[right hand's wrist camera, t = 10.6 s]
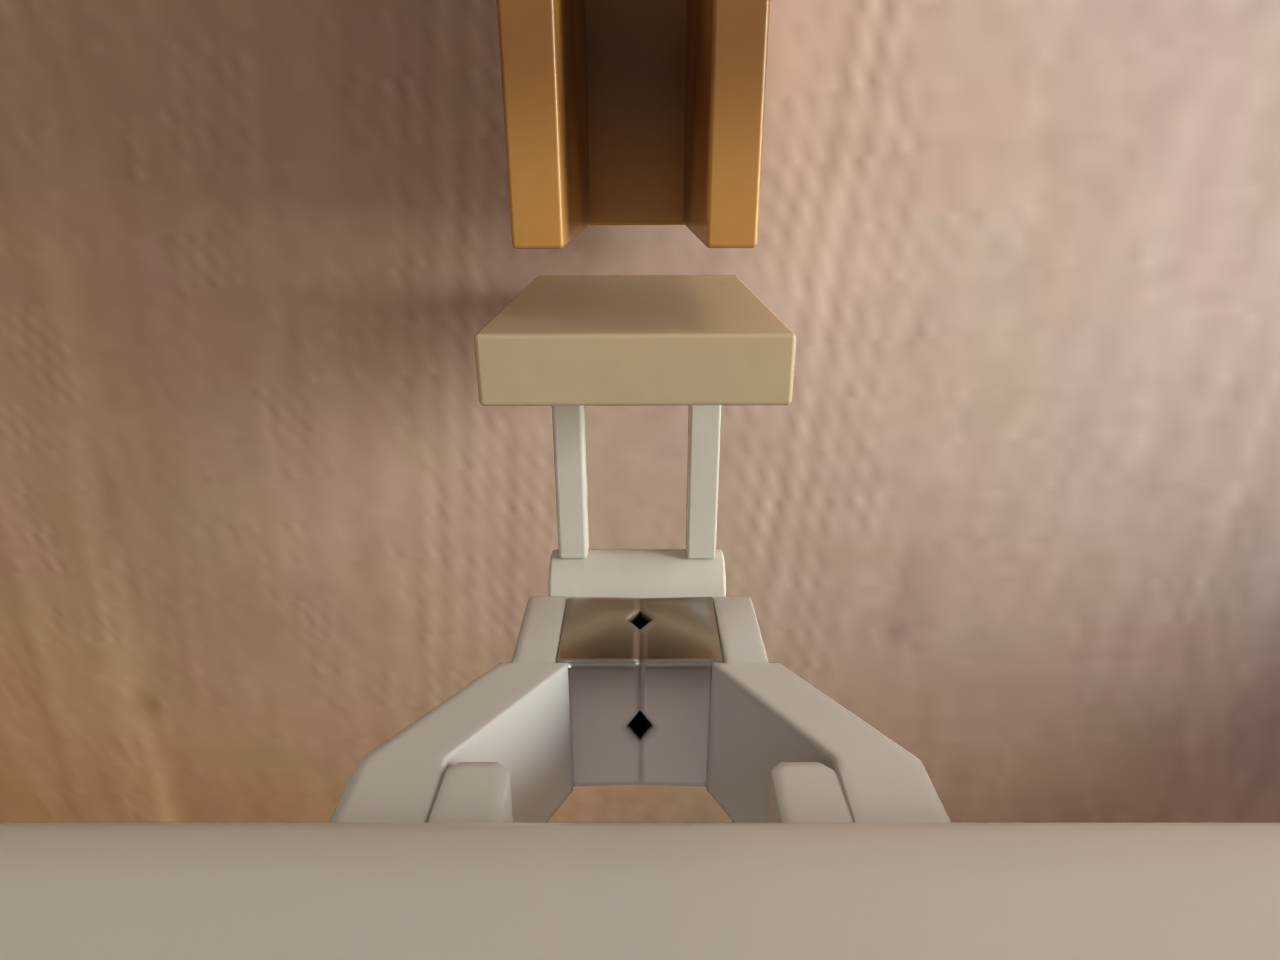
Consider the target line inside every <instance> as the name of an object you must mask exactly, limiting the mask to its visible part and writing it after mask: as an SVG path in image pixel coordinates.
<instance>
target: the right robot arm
mask: <svg viewBox="0 0 1280 960" xmlns="http://www.w3.org/2000/svg"><path fill="white" fill-rule="evenodd" d="M638 784H640V785H676V786H707V790H708V791H709V792H710V794H711V795H712V796H713V797H714V799H715V800H716V801H717V802H718V804H719V805H720V806H721V807H722V809H723V810H724V811H725V812H726V814H727V815H728V816H729V817H730V818H731V820H732V821H733V822H734V823H547V822H548V820H549V819H550V818H551V817H552V815H553V814H554V813H555V812H556V810H557V809H558V808H559V807H560V805H561V804H562V803H563V802H564V801H565V799H566V798H567V797H568V796H569V794H570V793H571V792H572V791H573V786H602V785H638ZM0 960H1280V823H951V821H950V819H949V817H948V815H947V813H946V811H945V809H944V807H943V805H942V803H941V801H940V799H939V797H938V794H937V792H936V790H935V788H934V786H933V784H932V782H931V780H930V778H929V776H928V774H927V772H926V770H925V768H924V766H923V764H922V762H921V760H920V759H919V758H917V757H916V756H914V755H913V754H911V753H910V752H908V751H907V750H905V749H904V748H903V747H901V746H900V745H898V744H897V743H895V742H894V741H892V740H891V739H889V738H888V737H887V736H885V735H884V734H882V733H881V732H879V731H878V730H876V729H875V728H873V727H872V726H870V725H869V724H868V723H866V722H865V721H863V720H862V719H860V718H859V717H857V716H856V715H854V714H853V713H852V712H850V711H849V710H847V709H846V708H844V707H843V706H841V705H840V704H838V703H837V702H836V701H834V700H833V699H831V698H830V697H828V696H827V695H825V694H824V693H822V692H821V691H820V690H818V689H817V688H815V687H814V686H812V685H811V684H809V683H808V682H806V681H805V680H804V679H802V678H801V677H799V676H798V675H796V674H795V673H793V672H792V671H790V670H789V669H788V668H786V667H785V666H783V665H782V664H780V663H769V662H768V658H767V654H766V651H765V647H764V643H763V640H762V636H761V633H760V629H759V625H758V622H757V618H756V614H755V611H754V607H753V604H752V600H751V598H750V597H749V596H726V597H677V598H622V597H568V598H567V597H566V596H533V597H531V598H530V599H529V600H528V603H527V606H526V610H525V614H524V617H523V621H522V625H521V628H520V632H519V636H518V640H517V643H516V647H515V651H514V654H513V658H512V662H511V663H500V664H498V665H497V666H495V667H494V668H493V669H491V670H490V671H488V672H487V673H485V674H484V675H482V676H481V677H479V678H478V679H476V680H475V681H473V682H472V683H471V684H469V685H468V686H466V687H465V688H463V689H462V690H460V691H459V692H457V693H456V694H454V695H453V696H452V697H450V698H449V699H447V700H446V701H444V702H443V703H441V704H440V705H438V706H437V707H435V708H434V709H433V710H431V711H430V712H428V713H427V714H425V715H424V716H422V717H421V718H419V719H418V720H416V721H415V722H414V723H412V724H411V725H409V726H408V727H406V728H405V729H403V730H402V731H400V732H399V733H397V734H396V735H395V736H393V737H392V738H390V739H389V740H387V741H386V742H384V743H383V744H381V745H380V746H378V747H377V748H375V749H374V750H373V751H371V752H370V753H368V754H367V755H365V756H364V757H362V758H361V759H360V760H359V762H358V764H357V766H356V769H355V771H354V773H353V775H352V777H351V779H350V781H349V783H348V785H347V787H346V789H345V791H344V793H343V795H342V797H341V799H340V801H339V803H338V805H337V807H336V809H335V811H334V813H333V815H332V817H331V819H330V821H329V823H0Z"/></svg>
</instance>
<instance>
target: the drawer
mask: <svg viewBox="0 0 1280 960" xmlns="http://www.w3.org/2000/svg"><path fill="white" fill-rule="evenodd" d="M769 8H770V0H497V9H498V25H499V41H500V57H501V73H502V89H503V105H504V121H505V137H506V153H507V169H508V185H509V201H510V217H511V233H512V245H513V247H514V248H516V249H560V248H563V247H564V246H565V245H566V244H567V243H569V242H570V241H571V240H572V239H573V238H575V237H576V236H577V235H578V234H579V233H580V232H582V231H583V230H584V229H585V228H586V227H588V226H589V225H686V226H687V227H688V228H689V229H690V230H691V231H692V232H693V233H694V234H695V235H696V236H697V237H698V238H699V239H700V240H701V241H702V242H703V243H704V244H705V245H706V246H707V247H709V248H753V247H756V245H757V239H758V220H759V201H760V181H761V162H762V143H763V123H764V104H765V85H766V66H767V46H768V27H769ZM474 345H475V356H476V368H477V380H478V392H479V401H480V403H481V405H484V406H552V419H553V440H554V461H555V482H556V503H557V524H558V545H559V550H554V551H553V552H552V554H551V559H550V566H549V596H566V597H567V598H568V597H622V598H677V597H726V573H725V561H724V555H723V552H722V550H720V549H716V530H717V504H718V478H719V451H720V425H721V405H788V404H790V403H791V401H792V392H793V379H794V365H795V352H796V335H795V333H794V332H793V331H792V330H791V329H790V328H789V327H788V326H787V325H786V324H785V323H784V322H783V321H782V320H780V319H779V318H778V317H777V316H776V315H775V314H774V313H773V312H772V311H771V310H770V309H769V308H768V307H767V306H766V305H765V304H764V303H763V302H762V301H761V300H760V299H759V298H758V297H757V296H756V295H755V294H754V293H753V292H752V291H751V290H750V289H749V288H748V287H747V286H746V285H745V284H744V283H743V282H742V281H741V280H740V279H739V278H738V277H737V276H735V275H624V276H539V277H537V278H536V279H535V280H534V281H533V282H532V283H531V284H530V285H529V286H528V287H527V288H525V289H524V290H523V291H522V292H521V293H520V294H519V295H518V296H517V297H516V298H515V299H514V300H513V301H511V302H510V303H509V304H508V305H507V306H506V307H505V308H504V309H503V310H502V311H501V312H500V313H498V314H497V315H496V316H495V317H494V318H493V319H492V320H491V321H490V322H489V323H488V324H487V325H485V326H484V327H483V328H482V329H481V330H480V331H479V332H478V333H477V334H476V335H475V337H474ZM637 405H689V417H688V464H687V510H686V549H606V550H588V547H589V536H588V504H587V472H586V440H585V408H584V406H637Z"/></svg>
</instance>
